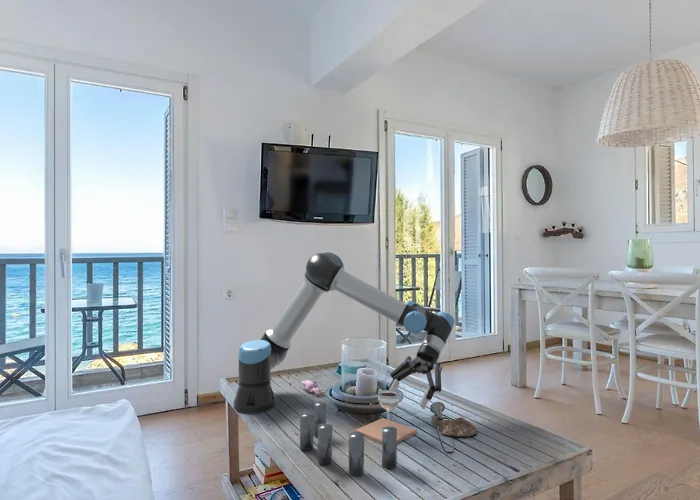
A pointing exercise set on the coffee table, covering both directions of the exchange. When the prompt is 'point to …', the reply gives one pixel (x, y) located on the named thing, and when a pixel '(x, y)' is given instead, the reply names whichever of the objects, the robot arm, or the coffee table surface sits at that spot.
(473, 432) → the shell
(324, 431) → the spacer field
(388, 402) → the wineglass
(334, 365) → the coffee table surface
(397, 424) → the terracotta tile
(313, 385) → the rabbit figure
